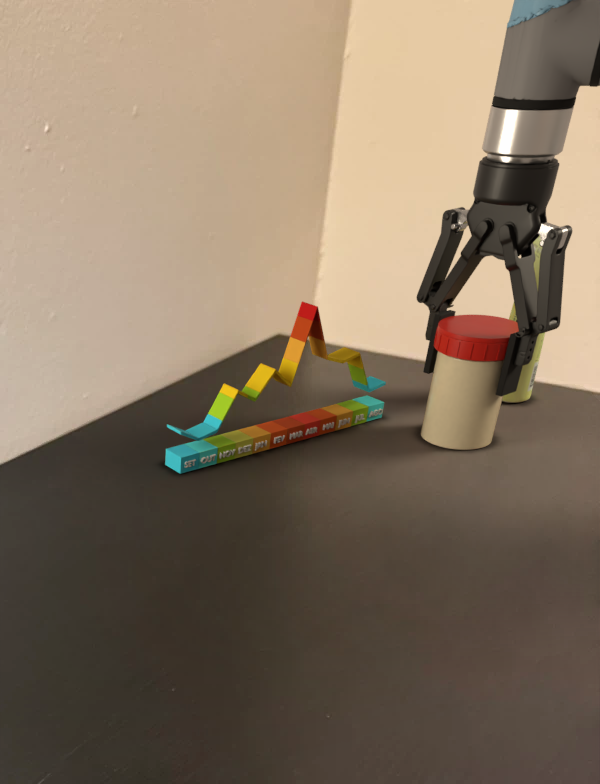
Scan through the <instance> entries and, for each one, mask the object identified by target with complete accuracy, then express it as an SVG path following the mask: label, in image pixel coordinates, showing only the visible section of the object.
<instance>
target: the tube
mask: <svg viewBox="0 0 600 784" xmlns="http://www.w3.org/2000/svg"><path fill="white" fill-rule="evenodd" d="M540 241H541V237H540V236H539V237H538V238H537V239H536V240H535V241H534V242H533V245H534V251H535V262H534V270H535V277H536V283H537V290H538V282H539V266H540V255H541V251H542V247H541V246H540V245H539V243H540ZM508 319H509V320H513V321H515V322H517V317H516V311H515V304H514V302H513V303H512V307H511V310H510V313H509V317H508ZM545 336H546V332H545V333H541V334H539V335H538V337H537V341H536V345H535V348H534V352H533V356H532V360H531V361H530V363H529V364H527V365H524V366H523V367H522V371H521V375H520V378H519V382H518V386H517V390H516V391H515V392H512V393H510V394H507V395H504V396H503V399H502V402H503V403H513V404H514V403H522V402H526V401H528V400H529V399H530V398H531V396H532V392H533V387H534V385H535V379H536V375H537V371H538V367H539V362H540V358H541V353H542V349H543V345H544V340H545Z"/></svg>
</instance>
